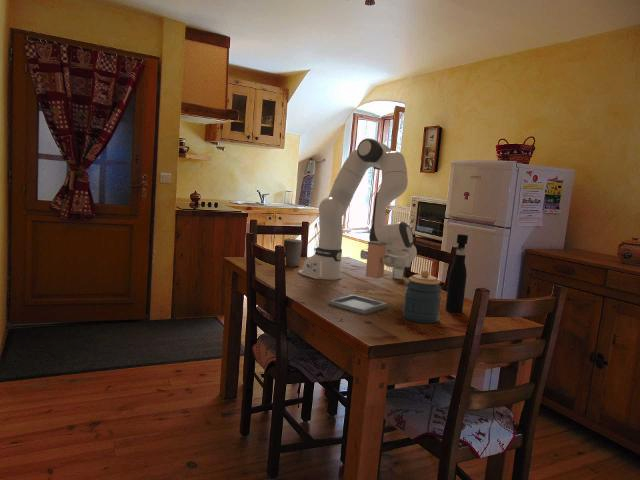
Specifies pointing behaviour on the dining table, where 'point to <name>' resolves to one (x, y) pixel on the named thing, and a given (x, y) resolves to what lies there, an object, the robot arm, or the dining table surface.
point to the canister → (422, 298)
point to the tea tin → (375, 259)
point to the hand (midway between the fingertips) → (374, 259)
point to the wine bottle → (457, 278)
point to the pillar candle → (293, 252)
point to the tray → (358, 304)
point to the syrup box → (398, 273)
